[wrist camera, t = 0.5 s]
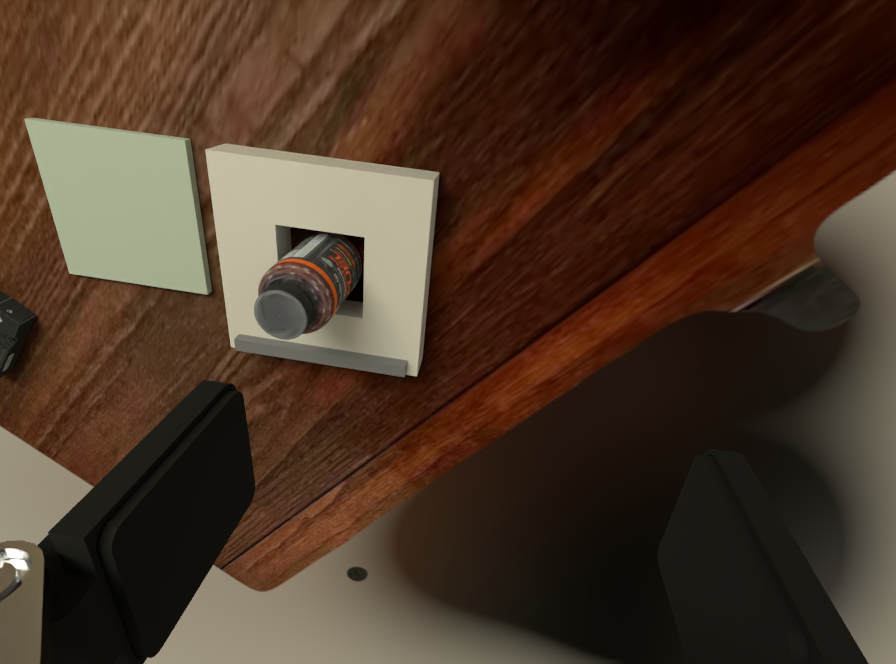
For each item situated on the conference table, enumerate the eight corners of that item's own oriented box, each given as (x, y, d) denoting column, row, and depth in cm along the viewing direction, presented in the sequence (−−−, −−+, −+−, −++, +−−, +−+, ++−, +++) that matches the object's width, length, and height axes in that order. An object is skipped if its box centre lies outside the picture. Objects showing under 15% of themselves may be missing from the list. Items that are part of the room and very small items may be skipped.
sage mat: (32, 117, 43) (24, 118, 42) (190, 138, 42) (184, 140, 41) (75, 270, 50) (69, 273, 49) (212, 291, 49) (207, 294, 48)
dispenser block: (225, 143, 42) (198, 151, 38) (439, 172, 41) (432, 183, 37) (245, 331, 51) (225, 352, 47) (422, 359, 49) (415, 382, 46)
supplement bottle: (376, 276, 46) (336, 338, 36) (323, 299, 48) (271, 363, 38) (342, 217, 43) (289, 265, 34) (287, 244, 45) (222, 296, 36)
